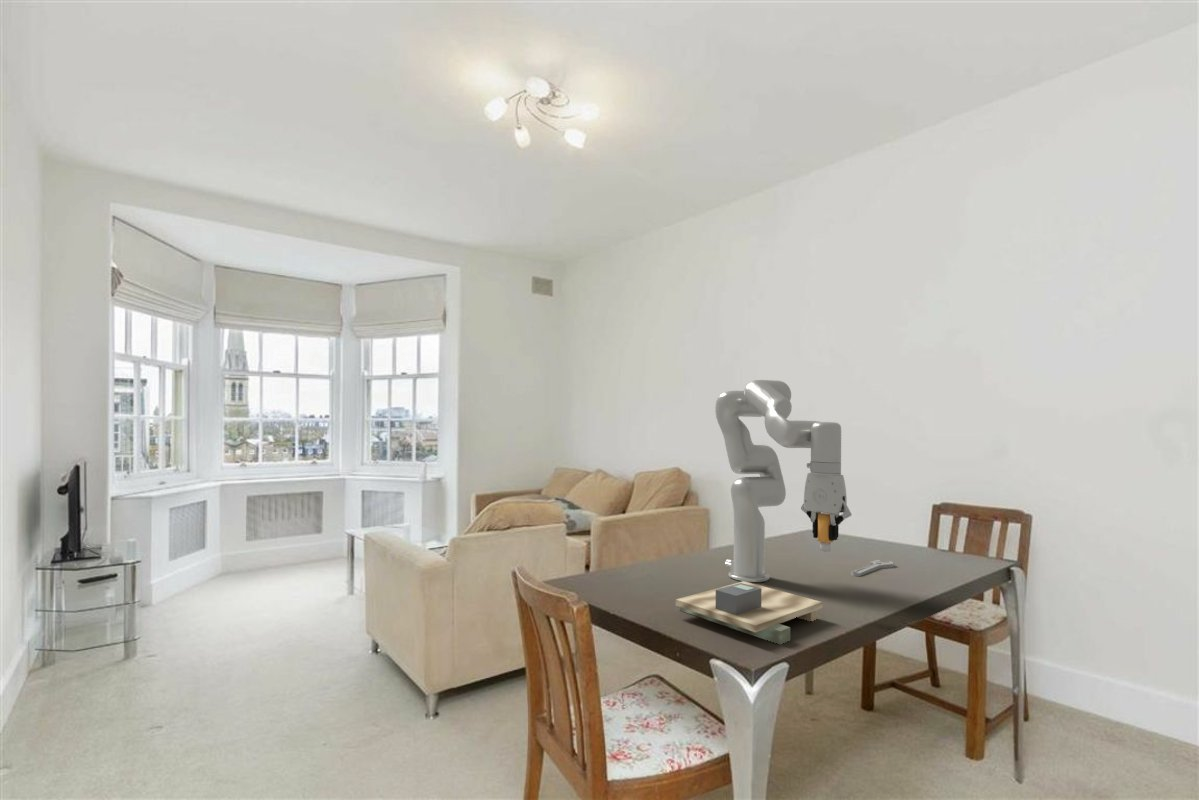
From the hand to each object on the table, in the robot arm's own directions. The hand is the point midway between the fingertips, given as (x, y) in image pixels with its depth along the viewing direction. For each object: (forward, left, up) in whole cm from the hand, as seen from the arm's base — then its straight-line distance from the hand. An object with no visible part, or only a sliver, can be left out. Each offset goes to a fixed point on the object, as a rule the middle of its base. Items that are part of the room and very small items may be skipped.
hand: (825, 537), depth 159 cm
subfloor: (-9, -21, -19) cm, 30 cm away
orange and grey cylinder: (0, 0, -3) cm, 3 cm away
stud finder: (-7, -28, -15) cm, 32 cm away
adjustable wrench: (-14, +54, -20) cm, 59 cm away
